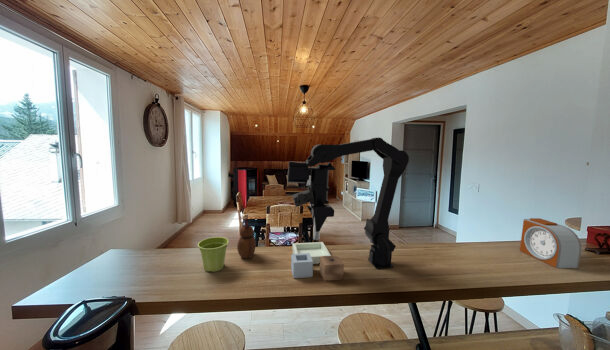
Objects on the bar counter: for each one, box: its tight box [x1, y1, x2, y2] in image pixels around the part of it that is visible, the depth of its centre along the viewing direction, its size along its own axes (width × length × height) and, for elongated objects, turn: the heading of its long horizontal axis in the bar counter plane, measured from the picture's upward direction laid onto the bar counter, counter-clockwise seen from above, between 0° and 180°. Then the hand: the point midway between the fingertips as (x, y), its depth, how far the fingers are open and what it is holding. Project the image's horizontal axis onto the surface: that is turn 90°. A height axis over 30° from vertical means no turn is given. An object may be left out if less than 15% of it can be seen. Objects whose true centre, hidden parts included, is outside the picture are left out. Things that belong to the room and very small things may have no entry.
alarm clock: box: [519, 217, 582, 269], centre depth 89 cm, size 15×8×14 cm, turn 2°
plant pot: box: [197, 236, 230, 273], centre depth 79 cm, size 9×9×9 cm
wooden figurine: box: [236, 217, 257, 259], centre depth 87 cm, size 7×6×15 cm
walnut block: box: [319, 254, 345, 282], centre depth 76 cm, size 6×6×5 cm
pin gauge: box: [312, 220, 321, 241], centre depth 79 cm, size 2×2×9 cm
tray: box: [291, 241, 332, 265], centre depth 88 cm, size 12×12×3 cm
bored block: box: [290, 253, 314, 279], centre depth 77 cm, size 6×6×5 cm
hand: (316, 230), depth 80 cm, fingers closed on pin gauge, 2 cm apart
